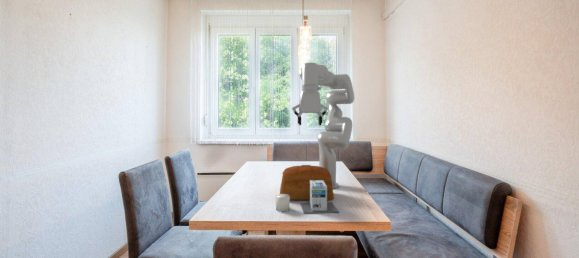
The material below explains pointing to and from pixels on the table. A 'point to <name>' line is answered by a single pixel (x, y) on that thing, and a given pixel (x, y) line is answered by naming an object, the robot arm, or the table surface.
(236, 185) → the table surface
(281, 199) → the white capsule cylinder
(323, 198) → the light bulb box
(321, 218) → the table surface
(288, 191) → the bread
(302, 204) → the slate trivet
